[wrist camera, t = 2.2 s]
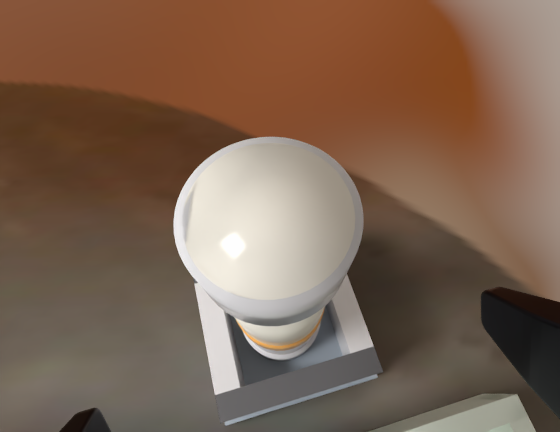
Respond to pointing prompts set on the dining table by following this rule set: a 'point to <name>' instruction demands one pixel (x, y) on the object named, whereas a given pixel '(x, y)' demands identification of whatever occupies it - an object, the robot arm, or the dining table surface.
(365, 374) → the tray
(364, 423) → the dining table surface
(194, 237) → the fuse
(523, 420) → the tray
